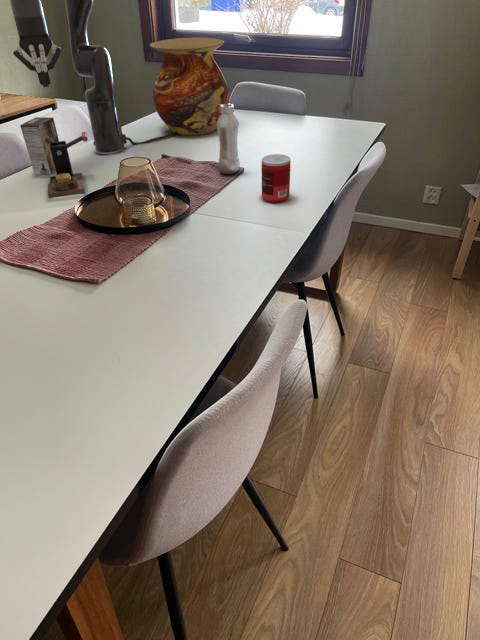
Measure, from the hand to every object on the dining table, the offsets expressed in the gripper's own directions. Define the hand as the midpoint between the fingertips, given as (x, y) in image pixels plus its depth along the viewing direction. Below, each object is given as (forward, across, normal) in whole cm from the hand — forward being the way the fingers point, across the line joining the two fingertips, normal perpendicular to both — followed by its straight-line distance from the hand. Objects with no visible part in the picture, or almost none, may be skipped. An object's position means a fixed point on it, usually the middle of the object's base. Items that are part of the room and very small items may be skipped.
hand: (46, 86), depth 140 cm
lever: (+17, +4, -3) cm, 17 cm away
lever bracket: (+27, 0, -3) cm, 27 cm away
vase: (+27, +49, +39) cm, 69 cm away
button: (+23, -1, -12) cm, 26 cm away
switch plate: (+27, -1, -12) cm, 29 cm away
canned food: (+27, +55, -37) cm, 72 cm away
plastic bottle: (+27, +49, -13) cm, 57 cm away
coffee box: (+27, -6, +8) cm, 29 cm away
